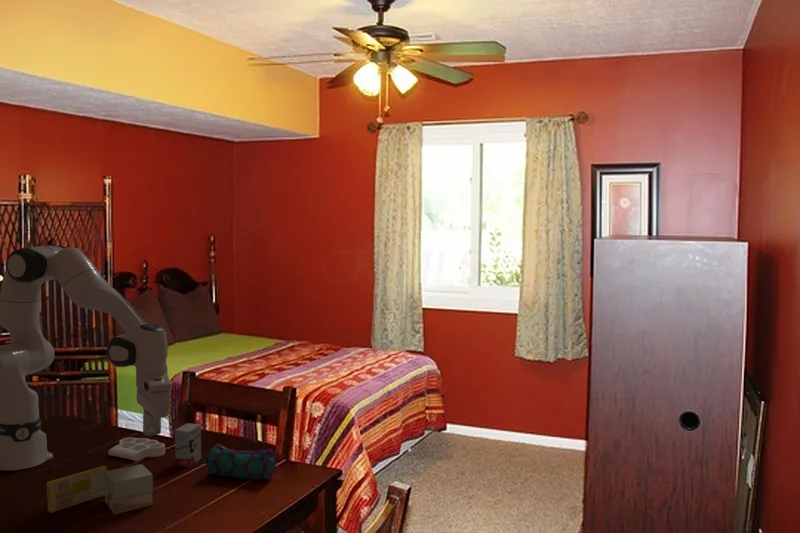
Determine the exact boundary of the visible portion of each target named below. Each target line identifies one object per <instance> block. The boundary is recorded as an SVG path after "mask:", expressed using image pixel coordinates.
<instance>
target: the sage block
mask: <svg viewBox="0 0 800 533" xmlns="http://www.w3.org/2000/svg"><path fill="white" fill-rule="evenodd" d="M105 488H106V489H107V490H108V491H109V493H110V494H111V495H112V496H113V498H114V499H117V498H122V497H126V496H131V495H136V494H140V493H145V492H149V491H152V492H153V491H154V476H153V473H151V471H150V470H149V469H148V468H147V467H146V466H145V465H143V464H135V465H131V466H126V467H121V468H120V467H119V468H116V469H110V470H107V471H105Z"/></svg>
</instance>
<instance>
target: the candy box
mask: <svg viewBox="0 0 800 533" xmlns="http://www.w3.org/2000/svg"><path fill="white" fill-rule="evenodd" d="M105 471H108V466H106V465H102V466H98V467H95V468H92V469H88V470H85V471H81V472H77V473H73V474H70V475H66V476H64V477H60V478H56V479H53V480H49V481H47V482H46V496H47V498H46V499H47V512H48V513H50V514H52V513H55V512H57V511H62V510H64V509H68V508H71V507H74V506H77V505H80V504H83V503H86V502H89V501H92V500H97V499H99V498H102V497H105Z"/></svg>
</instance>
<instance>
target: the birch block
mask: <svg viewBox="0 0 800 533" xmlns="http://www.w3.org/2000/svg"><path fill="white" fill-rule="evenodd" d="M104 502H105V504H106V505H107V506H108V508H109V509H110V510H111V512H112V513H113V514H114V515H117V514H121V513H125V512H130V511H135V510H138V509H142V508H147V507H152V506H153V505H154V504H153V491H149V492H145V493H140V494H136V495H131V496H126V497H122V498H117V499H114V498H113V496H112V495H111V494H110V493H109V491H108V490H107V489H106V488H105V496H104ZM151 505H152V506H151Z"/></svg>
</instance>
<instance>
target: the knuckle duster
mask: <svg viewBox="0 0 800 533" xmlns="http://www.w3.org/2000/svg"><path fill="white" fill-rule="evenodd" d="M118 443H119V444H117V445H115V446H112V447H111V448H110V449H109V450H108V452H107V453H108V455H109V456H112V457H117V458H121V459H124V458H125V460H130V461H134V462H138V461H141V460H143V459H145V457H146V458H156V457H157V458H159V457H162V456H164V455H165V453H166V444H165V443H164V442H163V443H162V442H159V440H157V439H149V438H146V437H145V438H144V437H142V438H141V437H138V438H137V437H125V438H122V439H120V440H119V441H118Z"/></svg>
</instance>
